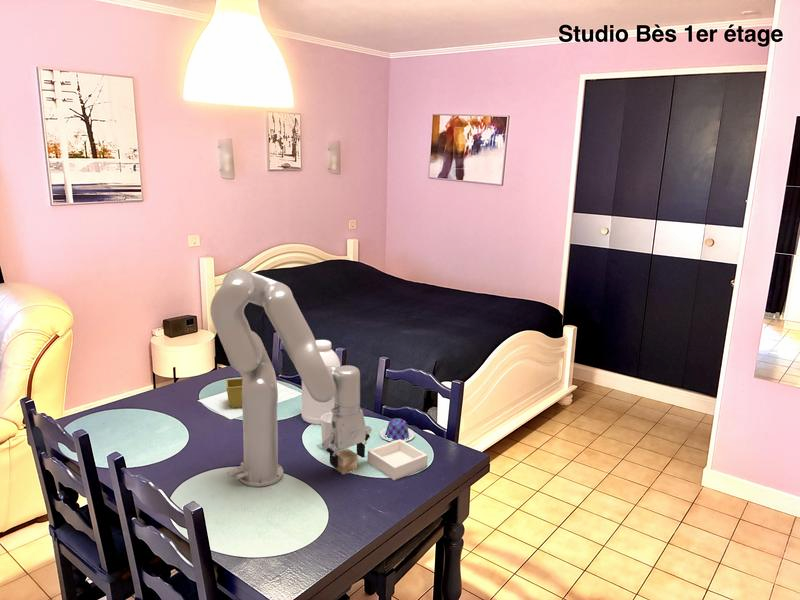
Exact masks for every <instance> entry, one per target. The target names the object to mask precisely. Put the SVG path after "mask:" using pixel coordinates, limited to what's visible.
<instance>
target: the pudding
mask: <svg viewBox="0 0 800 600" xmlns="http://www.w3.org/2000/svg"><path fill="white" fill-rule="evenodd" d="M385 430H386V433H385V436H386V435H387V436H386V438H387V437H388V438H392V439H393V440H394V441H395V440H399V439H401V440H404V439H405V438H406V439H407V440H406V439H405V440H404V442H408V441H411V440H413V439H414V438H415V437H416V434H415V431H413V429H411V428H409V427H408V423H407V422H406V420H404V419H402V418H397V417H395V418H392V419H390V420H389V421H388V423H387V426H386V427H384V428H382V429H381V430H380V431H379V436H380V437H381V438H382V439H383V440H386V441H388V442H393V441H391V440H392V439H390V440H388V439H386V438H385V437H383V434H382V433H383V432H384V431H385ZM408 437H409V439H408Z"/></svg>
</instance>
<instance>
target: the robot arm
mask: <svg viewBox="0 0 800 600" xmlns="http://www.w3.org/2000/svg"><path fill="white" fill-rule="evenodd" d="M249 303H252V304H254V305H256V306H260V307H263V309H264V312H265V314H266V315H267V317H268V319H269V321H270V322H271V324H272V326H273V328H274V330H275V331H276V333H277V335H278V337H279V339H280V341H281V343H282V345H283V346H284V348H285V351H286V353H287V355H288V356H289V359H291V362H292V363H293V365H294V367H295V370H296V371H297V374H298V376H299V377H300V380H301V382H302V381H303V383H304V385H305V387H306V388H307V390H308V392H309V394H310V396H311V397H312V398H313V399H314V400H316V401H318V402H328V401H330V400H331V399H332V398H333V397H334V408H332V409H331V412H332V413H333V415H332V421H331V430H330V436H329V437H328V438H327V439H326V440H325V441H324V442H323V443H321V446H322V448H323V450H324V451H326V452H327V453H328V454H329V464H330V465H331V466H332V467H333V468H334V467H335V468H338V455H336V454H337V452H338V451H340V450H344V449H347V448H348V449H349V448H351V447H353V446H356V454H357V456H358V457H360V458H365V456H366V449H365V448H366V445H367V443H368V440H369V438H370V435H371V433H372V430H373V428H372V427H370V426H367V425H366V423H365V417H364V412H363V410H362V409H361V373H360V372H361V371H360V370H359V368H358V367H356V366H354V365H350V364H348V365H346V364H345V365H340V367H333V366H325V364H324V362H323V359H322V357H321V355H320V353H319V350H318V348H317V344H316V339H315V336H314V334H313V332H312V329H311V328H310V326H309V324H308V323H307V320H306V319H305V317H304V315H303V313H302V312H301V309H300V308H299V305H298V303H297V301H296V299H295V298H294V295H293V292H292V290H291V288H290V287H289V286H288V285H286V284H284V283H283V282H280V281H277V280H275V279H272V278H269V277H266V276H263V275H261V274H257V273H256V272H252V271H249V270H247V269H244V268H234V269H232V270H230V271H229V272H228V273H226V275H225V276H224V278H223V280H222V283H221V285H220V287H219V289H218V290H217V291H216V292H215V294H214V296H213V298H212V300H211V303H210V318H211V320H212V323H213V325H214V326H213V327H214V329H215V331H216V333H217V335H218V338H219V341H220V343H221V345H222V348H223V350H224V352H225V354H226V357H227V359H228V362H229V364H230V366H231V367H232V368H233V369H234V370H235V371H237V372H238V373H239V374H240V375H239V376H240V378H242V380H243V382H242V407H241V408H242V429H243V432H242V434H243V437H242V438H243V439H242V441H243V461H242V462H240V466H238V467H237V468H236V469H231V470H229V471H227V476H228V478H229V479H232V478H234V477H235V478H236V480H239V481H240V482H241V483H242V484H244V485H246V486H249V487H256V488H258V487H259V488H260V487H266V486H271V485H273V484H276V483H277V482H280V480H281V479H283V476H284V468H283V467H282V465H280V464H279V463H278V462H279V458H278V457H279V455H278V452H279V451H278V446H279V444H278V441H279V439H278V435H279V434H278V431H279V430H278V403H279V402H278V401H279V398H278V397H279V396H278V395H279V394H278V393H279V392H278V391H279V390H278V382H277V375H276V371H275V369H274V367H273V364H272V361H271V359H270V357H269V355H268V351H267V350H266V347H265V346H264V343H263V341H262V339H261V337H260V336H259V335H258V333H256V332H255V331H253V330H252V329H251V326H250V324H249V321H248V319H247V318H246V314H245V308H246V306H247V305H248V304H249ZM330 443H331V446H330V448H329V444H330ZM334 447H335V449H334ZM333 449H334V451H333ZM339 449H340V450H339ZM335 468H334V469H335Z"/></svg>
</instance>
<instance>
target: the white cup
mask: <svg viewBox="0 0 800 600" xmlns="http://www.w3.org/2000/svg"><path fill="white" fill-rule="evenodd" d="M332 415H333V413H326V414H324V415H322V416H321V424H320V426H321V430H320V431H321V440H322V443H323V442H324V441H325V440H326V439H327V438H328V437H329V436H330V430H331V421H332ZM322 443H321V444H322ZM330 446H331V443H330V444H329V448H330ZM334 449H335V447H334ZM334 449H333V451H334Z"/></svg>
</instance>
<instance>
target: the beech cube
mask: <svg viewBox="0 0 800 600" xmlns="http://www.w3.org/2000/svg"><path fill="white" fill-rule="evenodd" d="M336 455H338V468H335V467H333V469H335V470H336V469H337V470H336V471H337V472H339V471H340V472H341V474H342V475H343V474H344V475H346V474H349V473H351V472H350V471H352V472H354V471H357V470H358V455H357V452H355V451H353V450H351V449H349V447H348V448H345V449H340V450H339V451H338V452H337V454H336ZM356 469H357V470H356ZM353 470H354V471H353ZM340 472H339V473H340ZM348 472H349V473H348ZM345 473H346V474H345Z"/></svg>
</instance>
